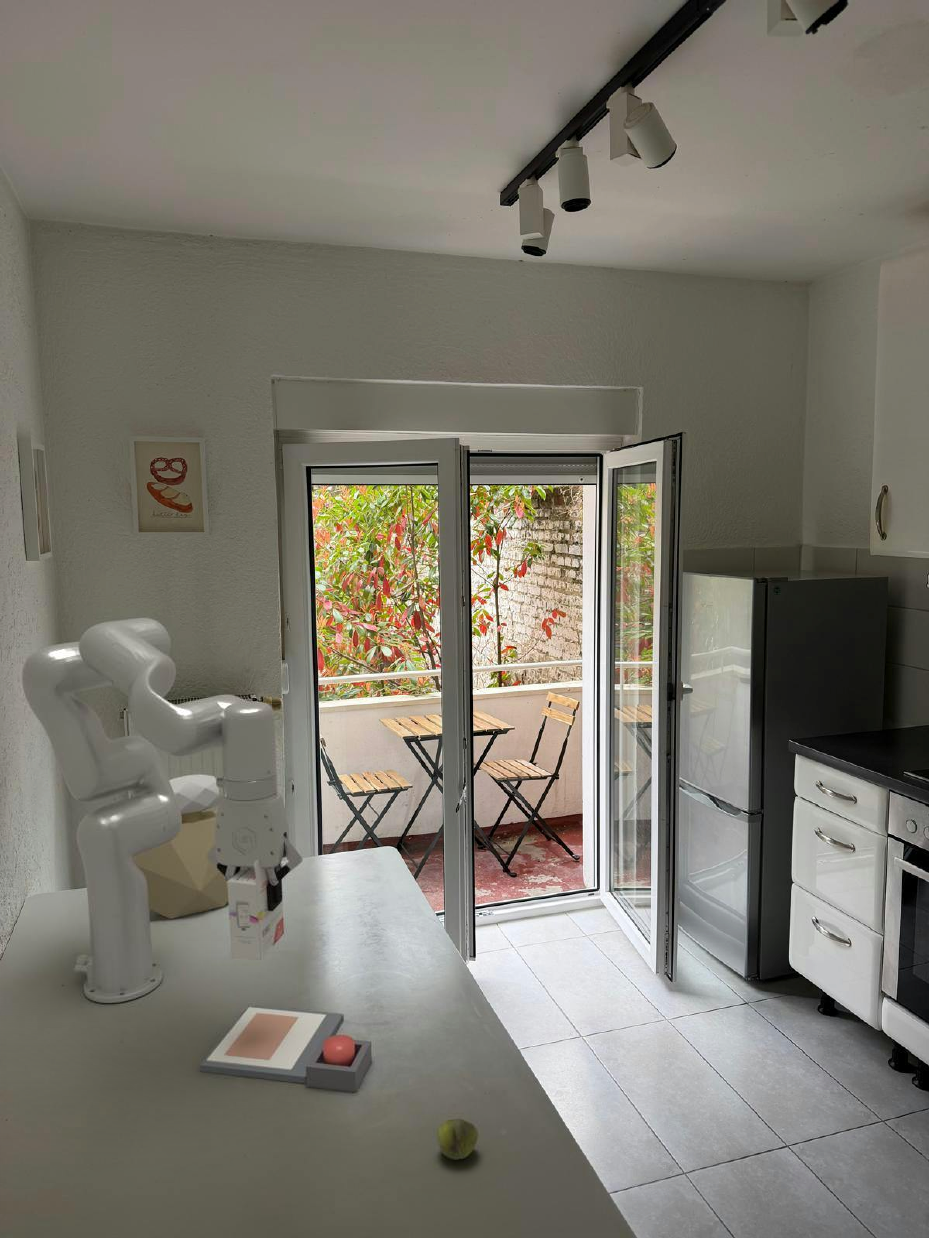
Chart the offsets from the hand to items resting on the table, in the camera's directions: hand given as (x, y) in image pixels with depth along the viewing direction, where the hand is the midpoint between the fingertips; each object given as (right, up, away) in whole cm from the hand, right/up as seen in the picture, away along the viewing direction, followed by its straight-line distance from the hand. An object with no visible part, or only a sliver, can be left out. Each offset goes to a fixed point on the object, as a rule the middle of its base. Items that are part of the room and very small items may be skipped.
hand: (256, 904), depth 129 cm
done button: (+13, -21, -5) cm, 25 cm away
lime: (+30, -24, -22) cm, 44 cm away
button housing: (+13, -22, -5) cm, 26 cm away
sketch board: (+2, -22, +2) cm, 22 cm away
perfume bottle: (-25, -17, +50) cm, 58 cm away
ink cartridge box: (0, -7, +1) cm, 7 cm away
